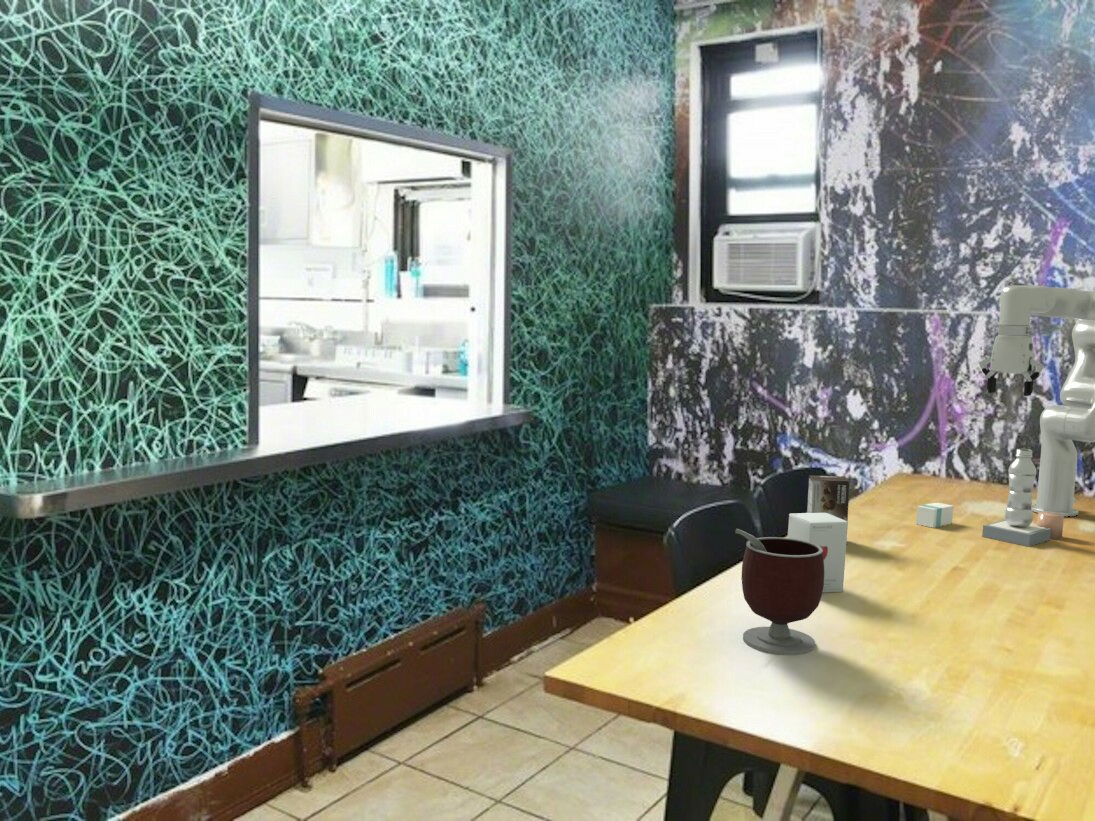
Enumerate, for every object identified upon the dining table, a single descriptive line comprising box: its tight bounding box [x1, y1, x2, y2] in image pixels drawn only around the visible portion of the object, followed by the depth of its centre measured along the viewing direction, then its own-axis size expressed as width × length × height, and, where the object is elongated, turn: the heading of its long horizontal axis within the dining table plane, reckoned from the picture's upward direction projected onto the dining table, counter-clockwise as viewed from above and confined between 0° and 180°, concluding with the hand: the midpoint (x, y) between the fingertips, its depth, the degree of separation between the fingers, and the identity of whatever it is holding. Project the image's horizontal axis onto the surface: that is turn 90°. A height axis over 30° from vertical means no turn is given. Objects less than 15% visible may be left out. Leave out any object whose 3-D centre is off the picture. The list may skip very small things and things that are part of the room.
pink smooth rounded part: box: [1036, 512, 1065, 540], centre depth 255 cm, size 6×6×6 cm
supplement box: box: [787, 512, 849, 594], centre depth 202 cm, size 9×9×15 cm
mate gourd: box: [735, 528, 825, 656], centre depth 168 cm, size 16×14×20 cm
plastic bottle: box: [1004, 448, 1037, 527], centre depth 251 cm, size 6×7×20 cm
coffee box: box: [806, 474, 851, 544], centre depth 242 cm, size 9×6×16 cm
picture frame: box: [981, 519, 1051, 547], centre depth 252 cm, size 12×12×3 cm
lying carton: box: [915, 502, 954, 529], centre depth 266 cm, size 10×5×5 cm, turn 129°
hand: (1009, 394), depth 267 cm, fingers open, 9 cm apart
